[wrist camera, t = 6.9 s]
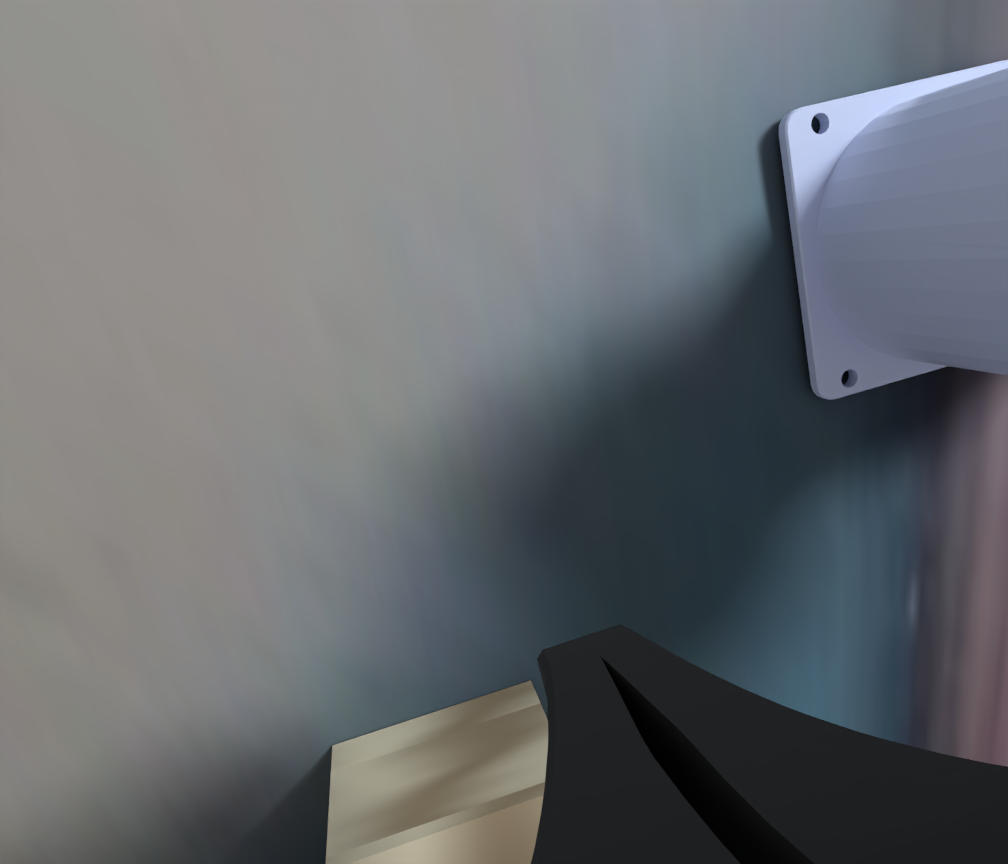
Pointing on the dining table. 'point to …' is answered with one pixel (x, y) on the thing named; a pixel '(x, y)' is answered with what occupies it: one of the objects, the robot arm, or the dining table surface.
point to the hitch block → (443, 786)
